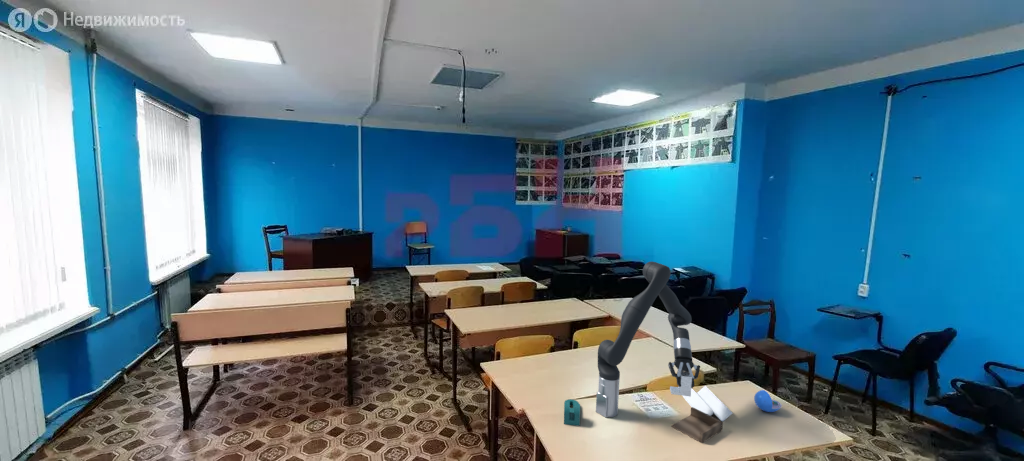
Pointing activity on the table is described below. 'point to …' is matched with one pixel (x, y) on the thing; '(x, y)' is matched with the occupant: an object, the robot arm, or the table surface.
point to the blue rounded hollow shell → (766, 402)
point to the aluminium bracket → (683, 385)
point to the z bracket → (708, 403)
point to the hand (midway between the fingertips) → (685, 386)
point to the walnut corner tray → (699, 425)
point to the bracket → (572, 412)
